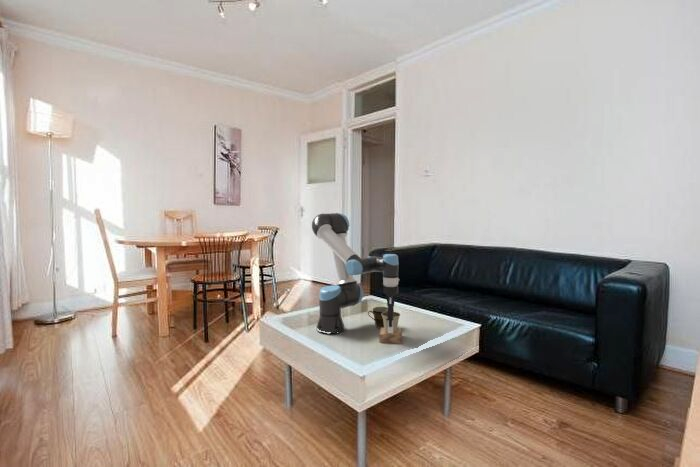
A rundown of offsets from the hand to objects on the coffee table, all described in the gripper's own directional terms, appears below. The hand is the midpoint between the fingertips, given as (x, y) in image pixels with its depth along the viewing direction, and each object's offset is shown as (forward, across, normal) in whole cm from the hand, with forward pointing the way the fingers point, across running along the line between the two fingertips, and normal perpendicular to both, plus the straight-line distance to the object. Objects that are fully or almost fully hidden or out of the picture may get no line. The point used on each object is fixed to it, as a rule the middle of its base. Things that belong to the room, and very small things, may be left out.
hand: (390, 329), depth 180 cm
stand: (+5, 0, 0) cm, 5 cm away
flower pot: (+1, 0, 0) cm, 1 cm away
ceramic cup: (+5, +18, +7) cm, 20 cm away
